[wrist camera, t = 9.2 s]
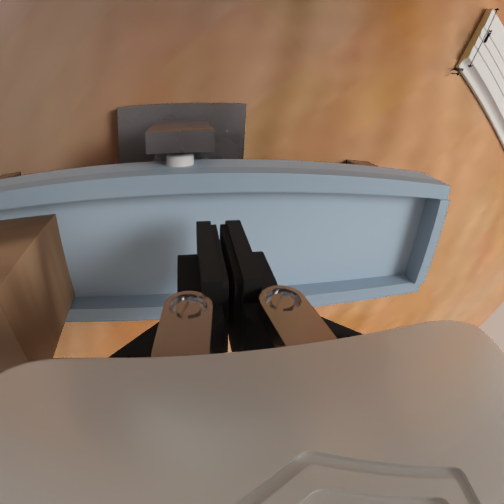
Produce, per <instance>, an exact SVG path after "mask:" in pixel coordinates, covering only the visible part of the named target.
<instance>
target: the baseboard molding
mask: <svg viewBox="0 0 504 504" xmlns="http://www.w3.org/2000/svg"><path fill="white" fill-rule="evenodd" d="M495 10H499V9H498V8H497V9H495ZM496 12H497V11H496ZM456 67H457V68H456ZM456 67H455V68H454V70H456V71H458V70H459V72H460V73H461V75H462V76H463V78H464V79H465V81H466V82H467V84H468V85H469V87H470V88H471V90H472V92H473V93H474V95H475V96H476V98H477V100H478V101H479V103H480V105H481V106H482V108H483V110H484V112H485V113H486V115H487V117H488V119H489V121H490V123H491V124H492V126H493V128H494V130H495V132H496V134H497V136H498V138H499V140H500V142H501V144H502V146H503V148H504V26H503V25H502V23H501V21H500V20H499V18H498V16H497V15H496V13H495V12H494V10H493V9H486V11H485V13H484V15H483V17H482V19H481V21H480V23H479V25H478V27H477V29H476V31H475V32H474V34H473V36H472V38H471V40H470V42H469V44H468V46H467V47H466V49H465V51H464V53H463V55H462V56H461V58H460V60H459V62H458V64H457V65H456ZM457 69H458V70H457ZM452 74H457V75H459V73H452Z"/></svg>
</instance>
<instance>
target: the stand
mask: <svg viewBox="0 0 504 504" xmlns="http://www.w3.org/2000/svg"><path fill="white" fill-rule="evenodd" d="M117 110H118V149H119V164H122V163H135V162H150V161H166V155H167V154H171V153H193V154H194V160H201V159H243V153H244V135H245V118H246V104H240V103H171V104H151V105H137V106H125V107H118V108H117ZM346 164H355V165H366V166H376V165H374V164H372V163H370V162H366V161H356V160H347V161H346ZM376 167H378V166H376ZM17 176H21V172H16V173H11V174H5V175H1V176H0V179H6V178H11V177H17Z"/></svg>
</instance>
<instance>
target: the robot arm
mask: <svg viewBox="0 0 504 504" xmlns="http://www.w3.org/2000/svg"><path fill="white" fill-rule="evenodd" d="M196 239H197V254H189V255H178V257H177V293H175V294H173V295H171V296H170V297H169V298H168V299H167V300H166V301H165V303H164V306H163V309H162V313H161V317H160V321H159V322H158V323H157V324H155V325H154V326H152V327H151V328H150V329H148V330H147V331H145V332H144V333H142V334H141V335H140V336H138V337H137V338H135V339H134V340H133V341H131V342H130V343H128V344H127V345H125V346H124V347H123V348H121V349H120V350H118V351H117V352H115V353H114V354H113V355H111V356H110V357H109V358H53V359H42V360H36V361H29V362H26V363H23V364H19V365H16V366H13V367H10V368H8V369H6V370H4V371H2V372H0V504H504V352H503V351H502V350H501V349H500V348H499V347H498V345H497V344H496V343H495V342H494V341H493V340H492V339H491V338H490V337H489V336H488V335H487V334H486V333H485V332H483V331H482V330H481V329H480V328H478V327H477V326H475V325H472V324H469V323H465V322H459V321H432V322H425V323H420V324H414V325H409V326H403V327H398V328H394V329H389V330H384V331H379V332H374V333H368V334H361V333H359V332H356V331H354V330H351V329H349V328H347V327H344V326H342V325H339V324H337V323H335V322H332V321H330V320H327V319H325V318H323V317H320V315H319V314H318V313H317V312H316V310H315V309H314V308H313V306H312V305H311V304H310V302H309V301H308V300H307V299H306V297H305V296H304V295H303V294H302V293H301V292H300V291H298V290H297V289H295V288H292V287H289V286H283V285H278V284H277V281H276V279H275V277H274V275H273V273H272V270H271V268H270V266H269V264H268V261H267V259H266V257H265V255H264V253H263V252H262V251H258V252H252V249H251V247H250V244H249V242H248V239H247V237H246V234H245V231H244V229H243V226H242V224H241V221H240V220H226V221H225V224H220V240H219V235H218V231H217V226H216V224H214V225H211V221H196ZM228 336H229V341H230V345H231V350H232V352H231V353H226V352H228Z"/></svg>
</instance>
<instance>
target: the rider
mask: <svg viewBox="0 0 504 504" xmlns="http://www.w3.org/2000/svg"><path fill="white" fill-rule="evenodd" d="M74 297H75V292H74V288H73V285H72V281H71V278H70V274H69V270H68V266H67V263H66V259H65V255H64V250H63V246H62V242H61V237H60V233H59V228H58V223H57V218H56V214H49V215H40V216H31V217H22V218H14V219H6V220H0V372H2V371H4V370H6V369H8V368H10V367H13V366H16V365H19V364H23V363H26V362H29V361H36V360H42V359H53V356H54V353H55V350H56V347H57V344H58V341H59V338H60V335H61V332H62V329H63V326H64V323H65V320H66V318H67V315H68V312H69V310H70V307H71V304H72V302H73V299H74Z"/></svg>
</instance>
